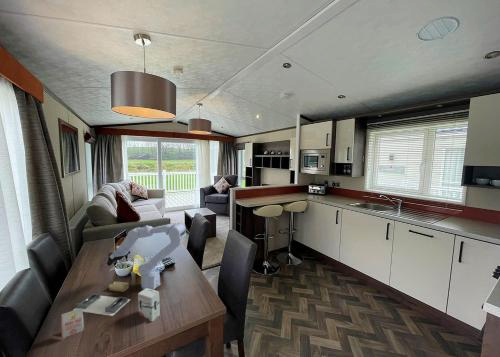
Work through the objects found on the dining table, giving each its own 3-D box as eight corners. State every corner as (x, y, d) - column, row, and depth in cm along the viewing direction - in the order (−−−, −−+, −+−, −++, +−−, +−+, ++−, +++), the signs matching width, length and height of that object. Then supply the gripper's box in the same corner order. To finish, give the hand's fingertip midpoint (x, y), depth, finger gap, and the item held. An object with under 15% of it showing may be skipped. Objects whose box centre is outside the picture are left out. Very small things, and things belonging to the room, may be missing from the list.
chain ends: (127, 301, 110) (127, 297, 110) (114, 313, 101) (114, 309, 101) (92, 296, 113) (92, 293, 113) (76, 307, 105) (76, 303, 104)
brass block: (128, 289, 121) (128, 282, 121) (123, 293, 118) (123, 286, 118) (114, 288, 123) (114, 281, 123) (109, 291, 119) (109, 284, 119)
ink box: (138, 317, 100) (137, 293, 99) (146, 310, 105) (146, 287, 104) (152, 322, 97) (151, 297, 96) (160, 315, 102) (159, 291, 101)
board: (131, 301, 111) (130, 299, 111) (112, 317, 100) (112, 315, 99) (94, 296, 115) (94, 294, 115) (72, 311, 103) (72, 309, 103)
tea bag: (63, 334, 90) (62, 311, 89) (83, 327, 94) (82, 305, 93) (61, 340, 87) (60, 317, 86) (83, 333, 91) (81, 310, 90)
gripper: (130, 236, 131) (118, 252, 133) (111, 244, 117) (98, 262, 118) (138, 244, 130) (126, 260, 132) (120, 253, 116) (107, 271, 118)
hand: (113, 261), depth 125 cm, fingers open, 7 cm apart
